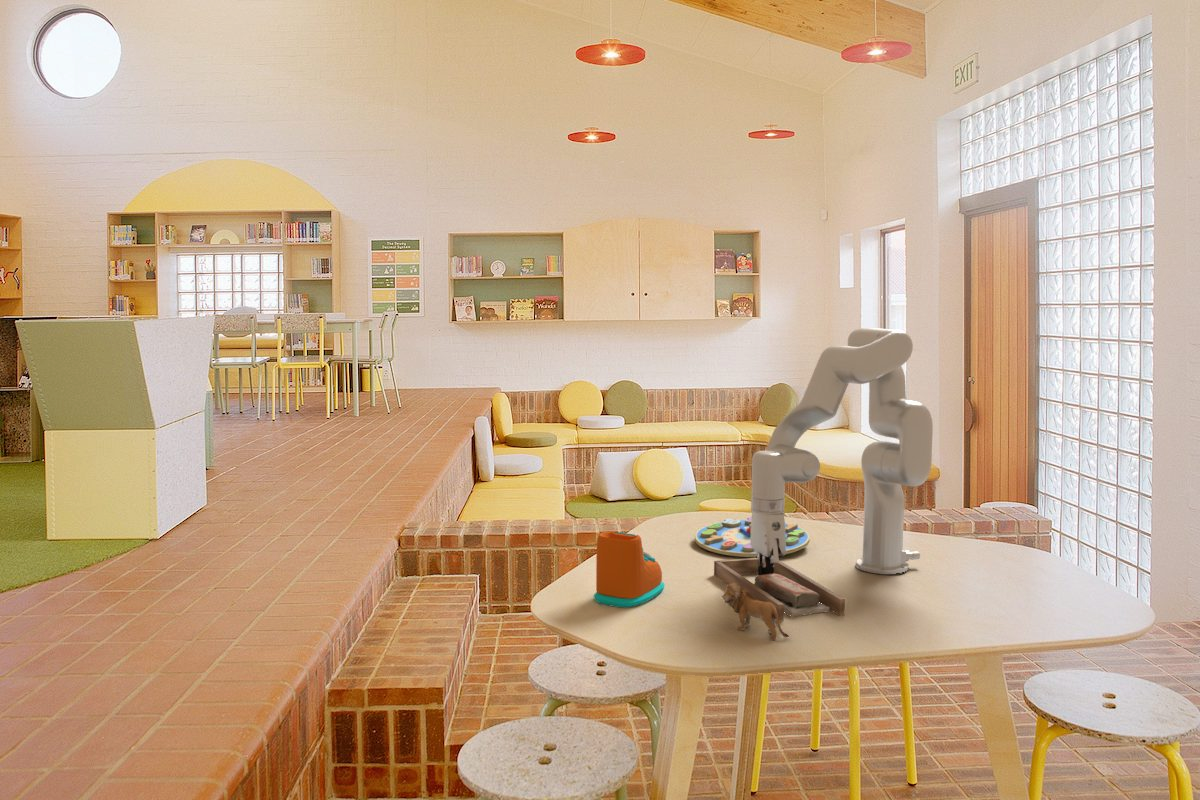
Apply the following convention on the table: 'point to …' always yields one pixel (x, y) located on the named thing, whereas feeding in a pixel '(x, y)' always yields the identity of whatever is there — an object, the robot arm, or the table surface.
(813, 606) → the packaged product
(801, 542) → the shape sorting clock
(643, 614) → the table surface
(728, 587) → the lion figurine
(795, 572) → the open-ended wooden frame
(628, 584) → the toy shoe
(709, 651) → the table surface
